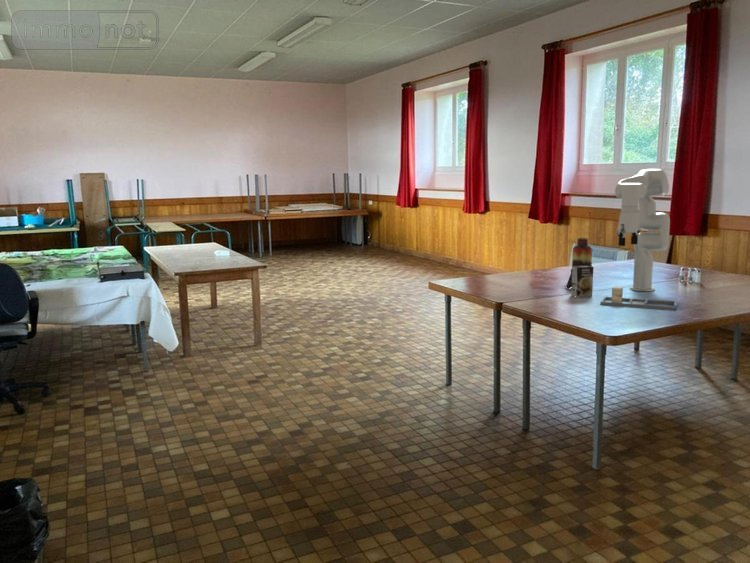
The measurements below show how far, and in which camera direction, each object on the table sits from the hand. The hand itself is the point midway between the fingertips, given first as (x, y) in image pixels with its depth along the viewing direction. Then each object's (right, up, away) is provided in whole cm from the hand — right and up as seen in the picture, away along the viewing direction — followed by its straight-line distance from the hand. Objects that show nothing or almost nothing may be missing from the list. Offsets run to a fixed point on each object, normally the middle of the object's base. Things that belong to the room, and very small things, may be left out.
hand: (628, 245), depth 298 cm
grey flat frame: (+7, -29, +4) cm, 30 cm away
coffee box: (-13, -26, +28) cm, 40 cm away
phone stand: (-10, -22, +49) cm, 54 cm away
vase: (+1, -18, +70) cm, 72 cm away
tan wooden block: (-2, -29, +9) cm, 30 cm away
